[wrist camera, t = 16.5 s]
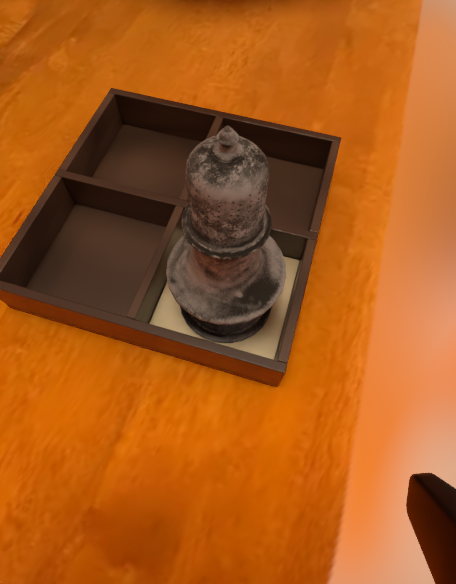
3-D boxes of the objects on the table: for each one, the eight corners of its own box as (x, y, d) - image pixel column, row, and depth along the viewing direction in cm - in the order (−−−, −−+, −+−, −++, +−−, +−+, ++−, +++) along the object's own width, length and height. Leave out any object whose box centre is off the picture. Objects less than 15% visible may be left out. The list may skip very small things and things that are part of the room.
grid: (277, 387, 21) (284, 373, 18) (9, 307, 23) (-18, 284, 20) (330, 170, 28) (341, 137, 25) (121, 122, 30) (111, 87, 27)
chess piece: (186, 248, 24) (155, 54, 13) (282, 262, 24) (331, 74, 13) (163, 339, 21) (102, 190, 11) (271, 356, 21) (321, 219, 10)
